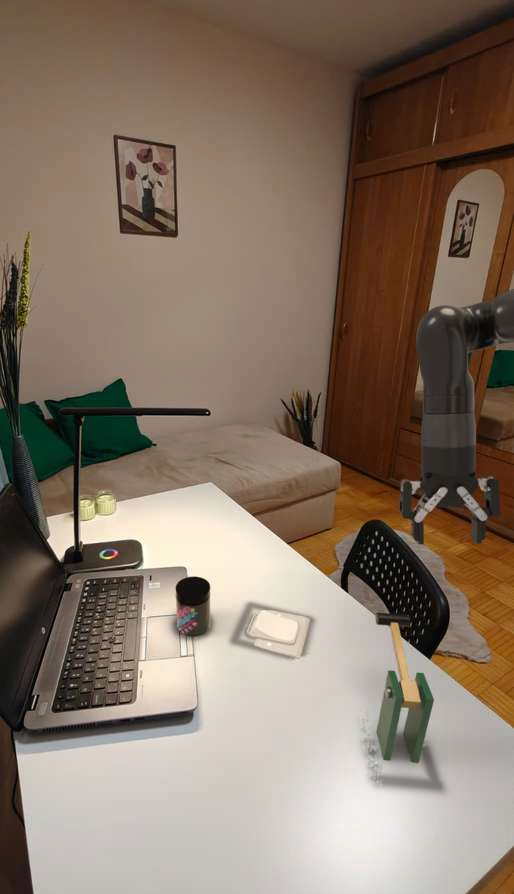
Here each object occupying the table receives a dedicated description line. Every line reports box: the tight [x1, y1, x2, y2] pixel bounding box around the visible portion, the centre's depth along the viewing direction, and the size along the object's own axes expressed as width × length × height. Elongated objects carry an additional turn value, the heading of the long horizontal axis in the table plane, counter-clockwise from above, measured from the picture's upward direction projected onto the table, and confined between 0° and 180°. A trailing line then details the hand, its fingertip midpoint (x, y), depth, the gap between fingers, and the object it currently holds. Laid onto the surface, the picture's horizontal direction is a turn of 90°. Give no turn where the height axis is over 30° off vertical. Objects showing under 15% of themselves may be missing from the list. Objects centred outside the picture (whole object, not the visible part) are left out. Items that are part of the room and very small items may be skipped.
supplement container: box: [175, 575, 211, 638], centre depth 87 cm, size 7×7×10 cm
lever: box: [375, 612, 421, 709], centre depth 66 cm, size 13×5×2 cm, turn 176°
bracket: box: [376, 670, 435, 764], centre depth 63 cm, size 10×8×14 cm
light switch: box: [246, 609, 311, 659], centre depth 87 cm, size 11×4×13 cm
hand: (447, 542), depth 70 cm, fingers open, 8 cm apart
